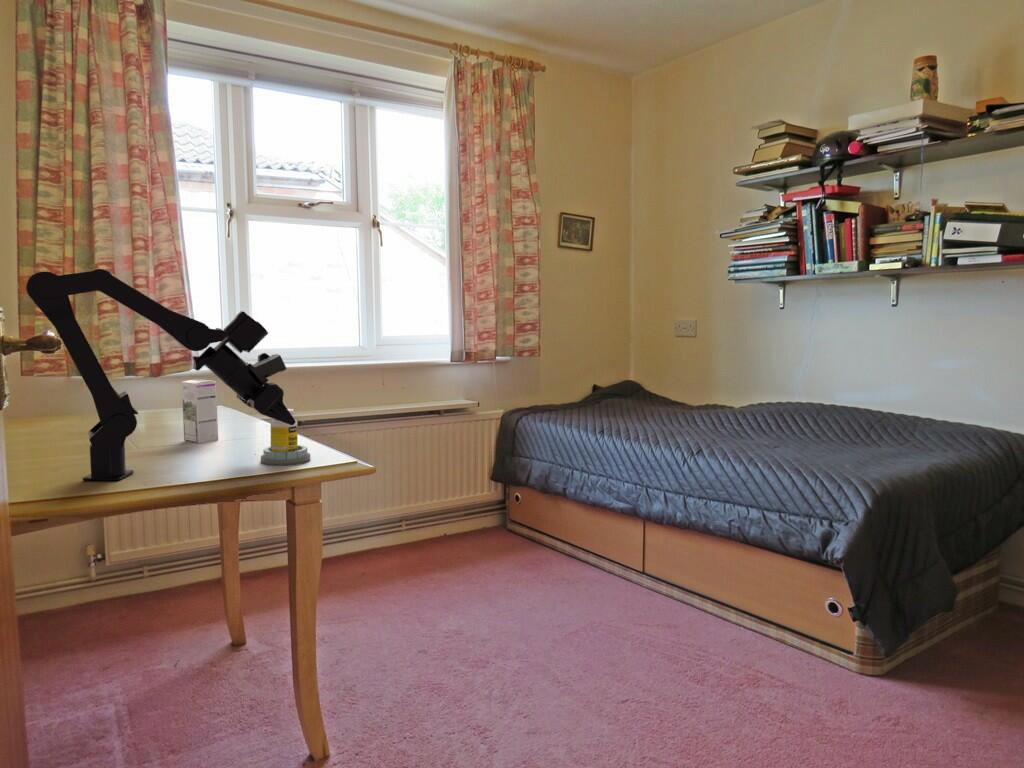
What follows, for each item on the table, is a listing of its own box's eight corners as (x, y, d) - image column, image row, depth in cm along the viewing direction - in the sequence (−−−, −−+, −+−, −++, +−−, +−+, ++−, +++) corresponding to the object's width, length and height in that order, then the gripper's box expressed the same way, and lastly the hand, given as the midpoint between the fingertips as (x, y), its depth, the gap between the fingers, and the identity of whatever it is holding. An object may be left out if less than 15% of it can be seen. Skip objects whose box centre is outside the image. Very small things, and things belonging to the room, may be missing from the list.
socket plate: (304, 465, 146) (304, 453, 146) (254, 465, 146) (254, 453, 145) (314, 455, 156) (314, 444, 156) (267, 455, 156) (267, 444, 155)
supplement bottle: (291, 458, 148) (290, 411, 147) (266, 457, 148) (265, 411, 147) (301, 453, 153) (301, 408, 152) (277, 452, 154) (276, 407, 153)
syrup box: (219, 440, 172) (217, 380, 170) (197, 444, 167) (195, 382, 165) (204, 437, 175) (203, 378, 173) (182, 441, 170) (180, 380, 168)
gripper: (271, 343, 138) (328, 397, 145) (251, 339, 154) (303, 387, 161) (229, 385, 135) (289, 438, 142) (212, 376, 151) (267, 424, 157)
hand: (288, 420), depth 150 cm, fingers open, 9 cm apart
